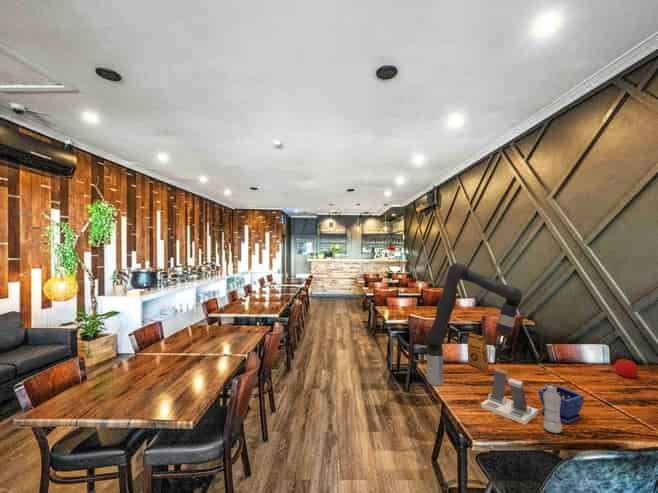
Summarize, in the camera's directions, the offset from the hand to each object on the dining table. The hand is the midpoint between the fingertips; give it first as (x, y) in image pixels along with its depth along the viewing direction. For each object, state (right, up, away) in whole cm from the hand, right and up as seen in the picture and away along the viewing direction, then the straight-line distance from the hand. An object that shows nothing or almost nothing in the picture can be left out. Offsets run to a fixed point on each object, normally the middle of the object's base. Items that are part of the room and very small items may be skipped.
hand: (497, 356), depth 156 cm
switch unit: (+1, -24, -8) cm, 26 cm away
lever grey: (+4, -21, -12) cm, 25 cm away
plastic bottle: (+10, -24, -26) cm, 36 cm away
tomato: (+101, -25, +33) cm, 109 cm away
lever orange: (-2, -21, -3) cm, 22 cm away
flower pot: (+22, -24, -14) cm, 36 cm away
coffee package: (+16, -27, +52) cm, 60 cm away
